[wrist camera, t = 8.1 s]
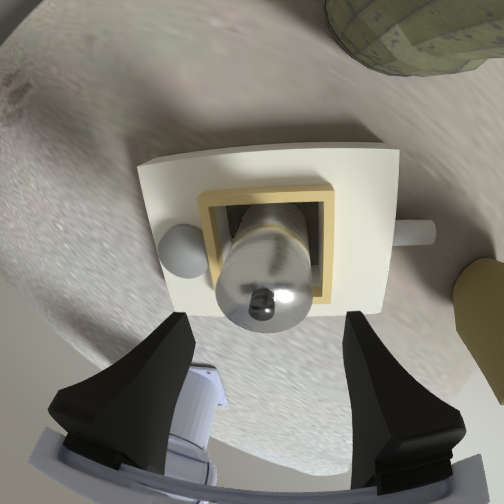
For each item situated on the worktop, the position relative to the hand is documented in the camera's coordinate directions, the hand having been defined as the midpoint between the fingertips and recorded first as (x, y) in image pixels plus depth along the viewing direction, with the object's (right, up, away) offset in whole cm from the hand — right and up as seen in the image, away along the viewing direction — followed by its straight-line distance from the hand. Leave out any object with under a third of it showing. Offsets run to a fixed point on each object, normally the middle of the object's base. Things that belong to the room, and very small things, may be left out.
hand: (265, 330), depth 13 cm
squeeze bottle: (+20, +1, +8) cm, 22 cm away
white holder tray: (+3, +5, +8) cm, 10 cm away
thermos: (+8, +19, 0) cm, 20 cm away
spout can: (+1, +5, +8) cm, 10 cm away
